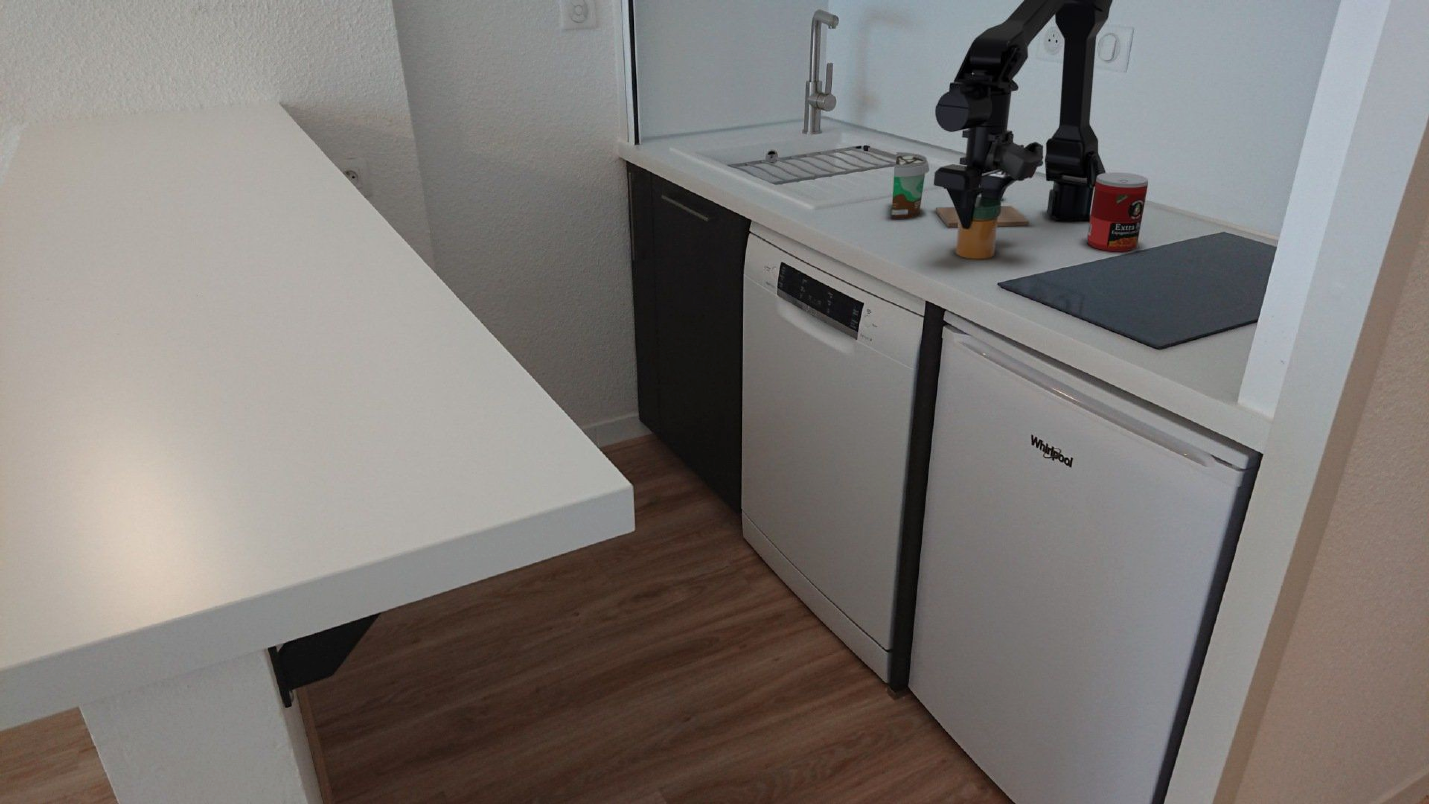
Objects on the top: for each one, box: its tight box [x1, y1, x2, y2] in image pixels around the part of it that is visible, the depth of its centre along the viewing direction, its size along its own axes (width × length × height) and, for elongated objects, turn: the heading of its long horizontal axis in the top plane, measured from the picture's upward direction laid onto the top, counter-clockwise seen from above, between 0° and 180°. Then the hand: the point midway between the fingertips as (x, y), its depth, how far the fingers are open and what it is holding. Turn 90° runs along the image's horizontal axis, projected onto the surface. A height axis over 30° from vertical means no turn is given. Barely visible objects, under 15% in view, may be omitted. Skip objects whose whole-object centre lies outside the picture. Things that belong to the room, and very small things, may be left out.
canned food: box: [1086, 172, 1149, 252], centre depth 153 cm, size 8×8×11 cm
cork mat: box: [935, 205, 1029, 228], centre depth 172 cm, size 14×11×1 cm
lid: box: [972, 196, 1002, 219], centre depth 150 cm, size 6×6×2 cm
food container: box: [890, 151, 930, 220], centre depth 175 cm, size 12×6×10 cm, turn 168°
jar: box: [955, 217, 998, 260], centre depth 152 cm, size 6×6×8 cm
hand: (977, 224), depth 151 cm, fingers closed on lid, 6 cm apart
